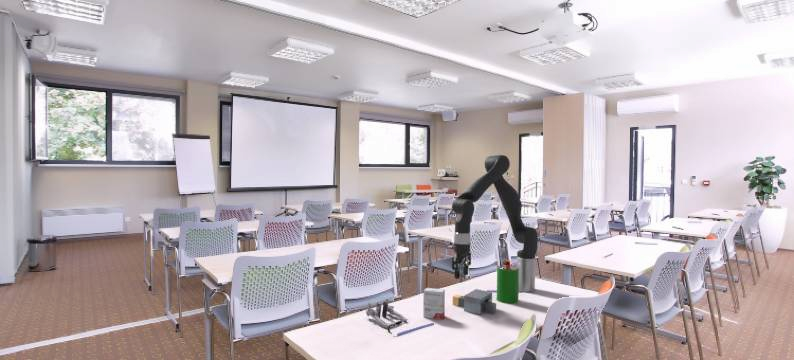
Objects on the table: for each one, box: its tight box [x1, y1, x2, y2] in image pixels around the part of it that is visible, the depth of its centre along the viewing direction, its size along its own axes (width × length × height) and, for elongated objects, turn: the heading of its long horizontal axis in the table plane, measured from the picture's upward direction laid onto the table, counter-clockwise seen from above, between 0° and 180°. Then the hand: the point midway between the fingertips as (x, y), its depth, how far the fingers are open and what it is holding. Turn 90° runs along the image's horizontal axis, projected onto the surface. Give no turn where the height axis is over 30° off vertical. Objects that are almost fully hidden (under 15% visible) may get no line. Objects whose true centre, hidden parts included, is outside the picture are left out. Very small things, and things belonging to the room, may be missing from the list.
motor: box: [496, 259, 520, 304], centre depth 197 cm, size 10×9×20 cm
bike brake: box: [365, 297, 409, 335], centre depth 169 cm, size 14×7×20 cm
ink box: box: [422, 287, 446, 320], centre depth 175 cm, size 9×5×12 cm, turn 71°
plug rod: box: [452, 294, 497, 315], centre depth 186 cm, size 4×20×4 cm, turn 54°
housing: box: [463, 288, 493, 316], centre depth 185 cm, size 12×8×7 cm, turn 143°
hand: (461, 276), depth 189 cm, fingers open, 8 cm apart
